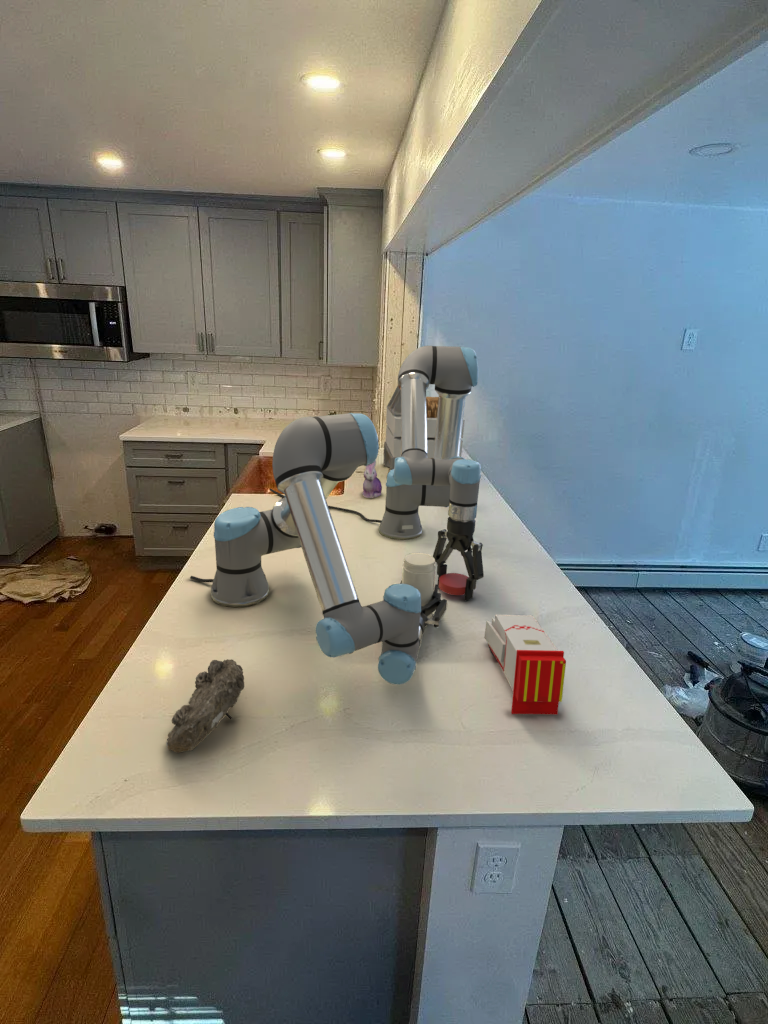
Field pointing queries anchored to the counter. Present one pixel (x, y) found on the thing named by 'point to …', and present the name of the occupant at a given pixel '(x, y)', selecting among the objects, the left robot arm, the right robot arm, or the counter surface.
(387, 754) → the counter surface
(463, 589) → the lid
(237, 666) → the fossil
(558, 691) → the toy
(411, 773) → the counter surface
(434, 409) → the grey slatted crate
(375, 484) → the figurine
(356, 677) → the counter surface
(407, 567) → the jar
